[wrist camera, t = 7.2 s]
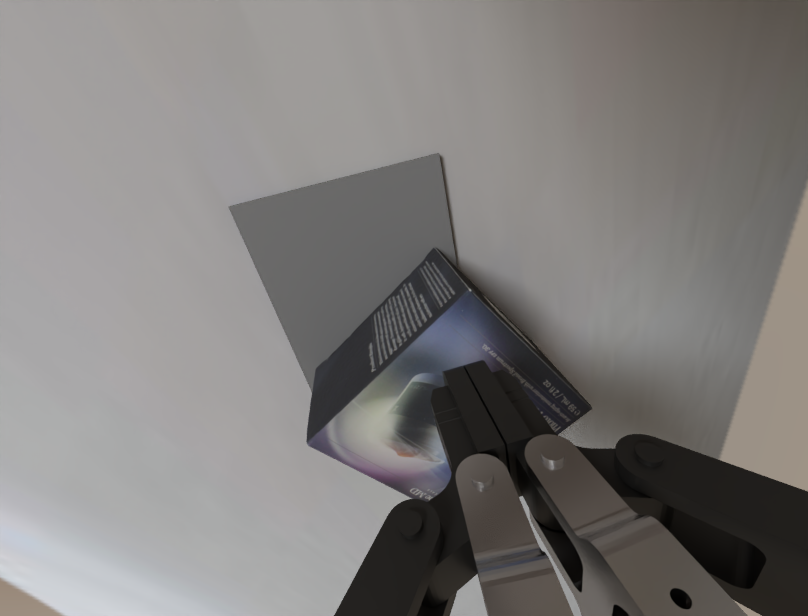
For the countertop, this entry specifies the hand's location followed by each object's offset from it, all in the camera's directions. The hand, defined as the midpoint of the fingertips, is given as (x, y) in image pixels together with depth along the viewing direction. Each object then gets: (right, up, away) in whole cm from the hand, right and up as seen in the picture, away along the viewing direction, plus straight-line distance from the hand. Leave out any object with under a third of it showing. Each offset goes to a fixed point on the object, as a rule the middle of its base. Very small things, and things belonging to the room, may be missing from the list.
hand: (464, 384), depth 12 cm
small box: (+4, +2, +6) cm, 7 cm away
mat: (-4, +3, +8) cm, 9 cm away
